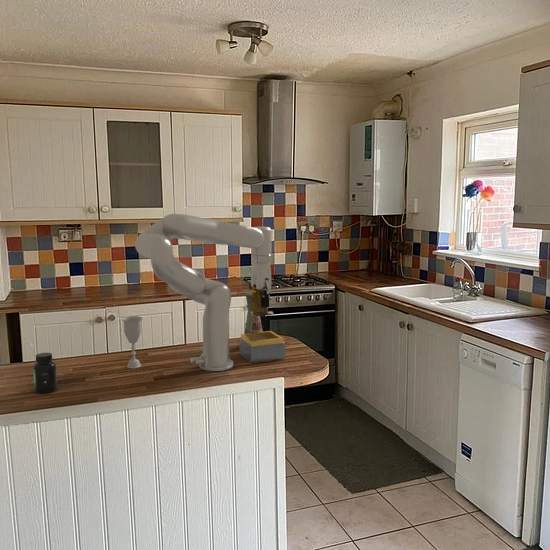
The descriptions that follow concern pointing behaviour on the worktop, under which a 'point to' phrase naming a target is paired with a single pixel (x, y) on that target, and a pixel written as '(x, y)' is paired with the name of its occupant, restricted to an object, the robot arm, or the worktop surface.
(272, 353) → the gold-rimmed square tray
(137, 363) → the chalice
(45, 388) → the supplement bottle
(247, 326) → the bottle
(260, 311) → the condiment
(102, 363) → the worktop surface
